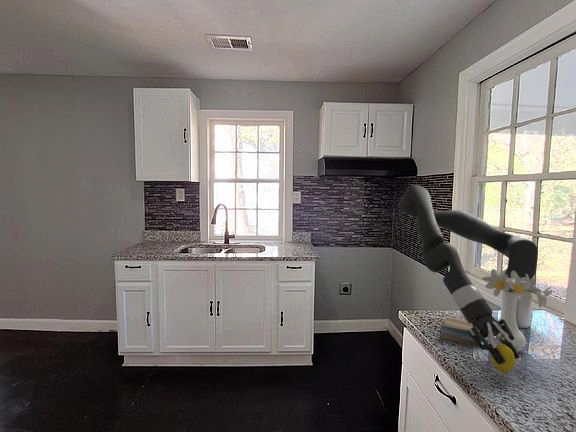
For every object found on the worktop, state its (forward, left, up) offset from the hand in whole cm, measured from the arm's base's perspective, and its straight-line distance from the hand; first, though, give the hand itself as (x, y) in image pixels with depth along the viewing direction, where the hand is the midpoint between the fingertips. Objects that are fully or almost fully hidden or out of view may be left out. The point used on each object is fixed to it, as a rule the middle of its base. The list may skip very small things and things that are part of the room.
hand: (509, 360), depth 89 cm
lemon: (-1, -1, -4) cm, 5 cm away
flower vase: (-21, +2, -5) cm, 21 cm away
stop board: (-26, -12, -5) cm, 29 cm away
